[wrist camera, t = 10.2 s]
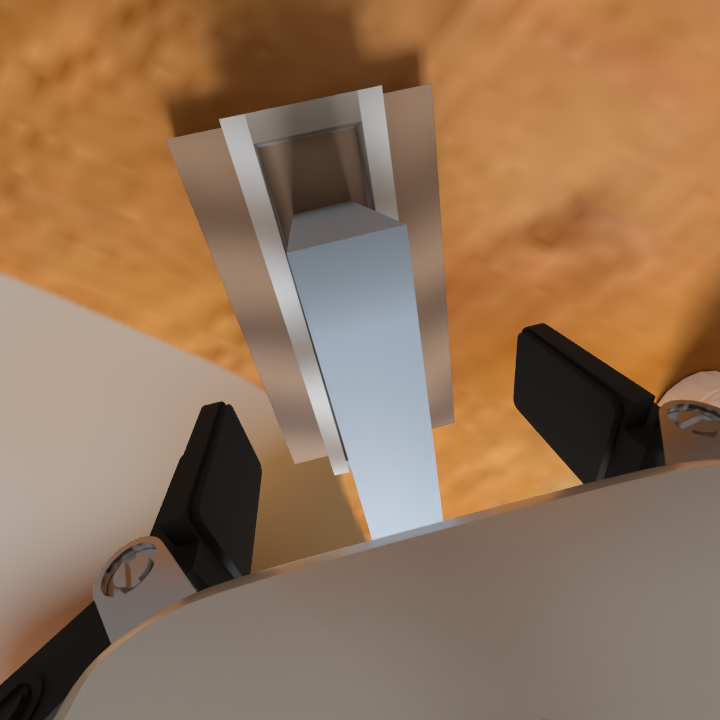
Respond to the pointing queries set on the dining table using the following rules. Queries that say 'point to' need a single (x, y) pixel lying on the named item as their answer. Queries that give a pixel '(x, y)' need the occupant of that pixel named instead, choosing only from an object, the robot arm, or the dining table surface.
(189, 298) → the dining table surface
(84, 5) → the dining table surface
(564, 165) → the dining table surface
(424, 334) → the track plinth
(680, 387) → the white cup
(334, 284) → the plain gray rectangular block
